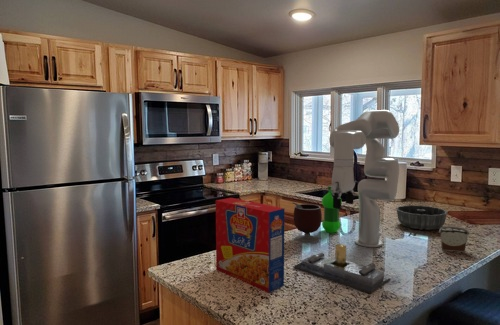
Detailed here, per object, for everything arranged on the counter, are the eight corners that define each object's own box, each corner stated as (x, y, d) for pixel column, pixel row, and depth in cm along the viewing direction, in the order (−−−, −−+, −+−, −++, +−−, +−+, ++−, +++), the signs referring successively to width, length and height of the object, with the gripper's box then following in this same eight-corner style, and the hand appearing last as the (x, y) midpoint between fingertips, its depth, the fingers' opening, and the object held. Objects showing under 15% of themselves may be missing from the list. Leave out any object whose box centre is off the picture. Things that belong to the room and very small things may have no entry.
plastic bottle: (332, 235, 183) (333, 188, 181) (317, 230, 192) (318, 185, 189) (344, 232, 189) (345, 186, 187) (329, 227, 197) (330, 184, 195)
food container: (464, 247, 164) (465, 226, 163) (468, 252, 158) (469, 230, 157) (435, 245, 167) (436, 225, 166) (438, 249, 161) (439, 228, 160)
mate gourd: (311, 234, 185) (312, 197, 183) (326, 242, 172) (327, 202, 170) (285, 238, 179) (285, 199, 177) (299, 246, 166) (300, 205, 164)
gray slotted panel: (316, 257, 151) (317, 244, 150) (390, 279, 128) (390, 264, 128) (294, 268, 139) (294, 253, 139) (370, 294, 117) (370, 277, 116)
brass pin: (338, 268, 137) (338, 243, 136) (347, 271, 134) (348, 245, 133) (332, 271, 134) (333, 245, 133) (342, 274, 131) (342, 248, 130)
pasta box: (216, 269, 138) (215, 200, 136) (231, 264, 144) (231, 197, 141) (268, 293, 118) (269, 212, 116) (283, 285, 124) (284, 208, 121)
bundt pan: (387, 226, 202) (387, 209, 201) (407, 218, 219) (408, 202, 218) (435, 236, 182) (436, 217, 181) (453, 227, 199) (454, 209, 198)
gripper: (345, 160, 145) (345, 200, 147) (323, 165, 133) (323, 208, 135) (362, 161, 140) (362, 203, 142) (341, 166, 128) (340, 212, 130)
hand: (343, 205), depth 139 cm, fingers open, 9 cm apart
